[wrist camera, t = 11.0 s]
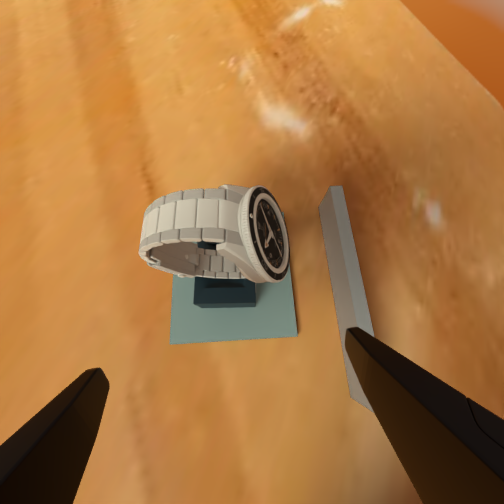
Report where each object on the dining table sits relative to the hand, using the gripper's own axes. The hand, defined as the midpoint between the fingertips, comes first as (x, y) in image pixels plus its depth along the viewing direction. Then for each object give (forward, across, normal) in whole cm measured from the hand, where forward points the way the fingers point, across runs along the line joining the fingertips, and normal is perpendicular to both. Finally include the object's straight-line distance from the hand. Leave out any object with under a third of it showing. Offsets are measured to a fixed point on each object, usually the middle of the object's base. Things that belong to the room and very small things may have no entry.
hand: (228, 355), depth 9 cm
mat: (+12, 0, +3) cm, 12 cm away
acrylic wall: (+10, -9, +5) cm, 14 cm away
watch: (+11, 0, +3) cm, 12 cm away
